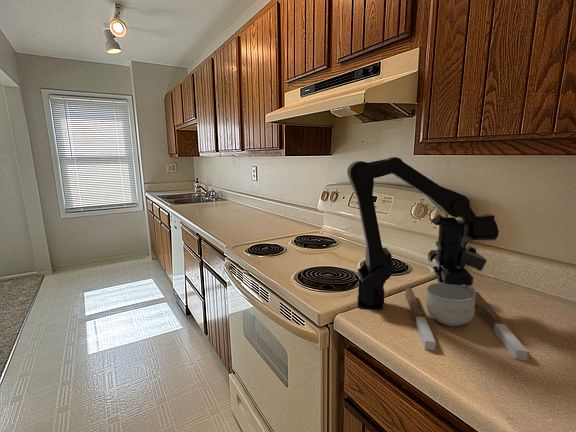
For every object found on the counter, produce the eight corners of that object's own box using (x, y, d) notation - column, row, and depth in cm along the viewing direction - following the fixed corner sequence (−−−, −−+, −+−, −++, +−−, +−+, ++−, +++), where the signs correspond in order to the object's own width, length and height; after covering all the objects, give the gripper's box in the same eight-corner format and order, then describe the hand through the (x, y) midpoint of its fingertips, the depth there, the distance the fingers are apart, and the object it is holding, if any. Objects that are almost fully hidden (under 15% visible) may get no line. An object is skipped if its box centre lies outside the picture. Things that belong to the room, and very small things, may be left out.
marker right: (515, 359, 61) (516, 350, 61) (493, 331, 71) (494, 323, 70) (526, 360, 61) (528, 351, 60) (503, 332, 70) (504, 324, 70)
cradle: (414, 322, 75) (415, 312, 75) (405, 295, 90) (405, 287, 89) (501, 329, 71) (502, 320, 71) (476, 300, 86) (477, 292, 85)
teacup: (445, 335, 70) (448, 303, 68) (414, 311, 80) (416, 283, 79) (494, 325, 73) (498, 294, 72) (459, 304, 83) (462, 277, 82)
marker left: (424, 349, 65) (425, 341, 64) (415, 324, 74) (416, 316, 74) (434, 350, 64) (435, 342, 64) (424, 325, 74) (425, 317, 74)
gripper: (501, 253, 70) (493, 315, 73) (470, 232, 87) (466, 283, 91) (448, 251, 72) (443, 312, 75) (429, 231, 90) (425, 281, 93)
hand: (445, 295), depth 83 cm, fingers closed
